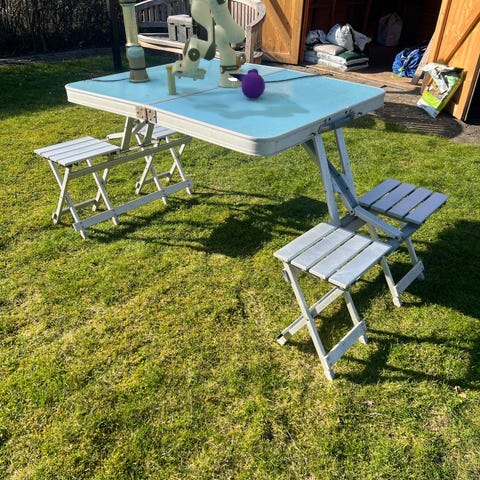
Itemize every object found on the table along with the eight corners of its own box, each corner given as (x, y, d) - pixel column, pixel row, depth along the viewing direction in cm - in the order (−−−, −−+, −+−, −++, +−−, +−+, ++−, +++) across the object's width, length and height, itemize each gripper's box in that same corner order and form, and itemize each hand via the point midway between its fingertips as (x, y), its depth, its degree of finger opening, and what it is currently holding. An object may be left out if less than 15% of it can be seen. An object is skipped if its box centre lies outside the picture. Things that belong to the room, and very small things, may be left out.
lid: (173, 69, 290) (173, 66, 289) (165, 69, 290) (164, 66, 289) (175, 68, 295) (175, 65, 294) (167, 68, 295) (166, 65, 294)
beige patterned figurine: (226, 73, 360) (225, 53, 353) (219, 71, 369) (219, 51, 361) (249, 70, 370) (249, 50, 362) (242, 68, 378) (241, 49, 371)
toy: (250, 90, 302) (265, 104, 282) (225, 86, 295) (239, 99, 274) (256, 66, 294) (272, 78, 274) (231, 61, 287) (246, 73, 266)
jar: (175, 94, 298) (172, 67, 289) (168, 94, 299) (165, 67, 290) (176, 92, 302) (174, 65, 294) (169, 92, 303) (167, 66, 294)
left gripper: (203, 5, 329) (204, 36, 339) (195, 3, 349) (197, 33, 360) (193, 5, 327) (195, 37, 338) (186, 4, 347) (188, 34, 358)
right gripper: (207, 65, 270) (203, 76, 283) (173, 60, 265) (170, 71, 278) (207, 75, 269) (203, 85, 282) (172, 70, 264) (170, 81, 277)
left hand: (196, 35), depth 349 cm, fingers open, 13 cm apart
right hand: (186, 78), depth 280 cm, fingers open, 8 cm apart
